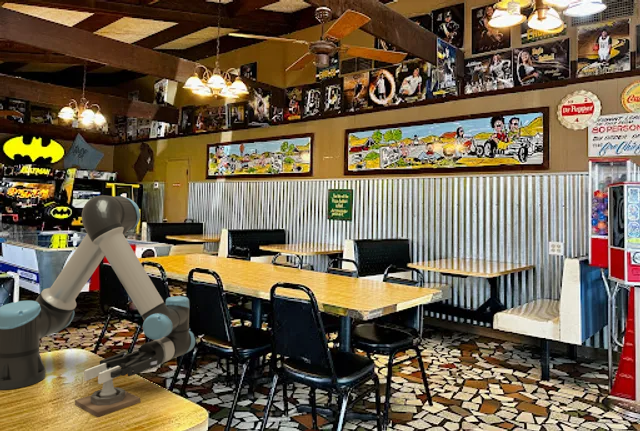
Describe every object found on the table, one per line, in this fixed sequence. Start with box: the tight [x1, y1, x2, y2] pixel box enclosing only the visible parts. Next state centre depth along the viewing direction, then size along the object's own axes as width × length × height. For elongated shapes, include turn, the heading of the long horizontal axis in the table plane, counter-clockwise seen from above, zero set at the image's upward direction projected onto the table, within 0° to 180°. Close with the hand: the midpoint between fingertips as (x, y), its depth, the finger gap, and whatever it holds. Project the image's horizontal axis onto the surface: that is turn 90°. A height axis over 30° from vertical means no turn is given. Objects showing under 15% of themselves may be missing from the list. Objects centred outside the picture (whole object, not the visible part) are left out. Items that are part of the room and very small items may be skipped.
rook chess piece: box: [99, 368, 116, 398], centre depth 125 cm, size 4×4×8 cm
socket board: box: [74, 387, 141, 418], centre depth 125 cm, size 12×12×3 cm
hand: (92, 377), depth 120 cm, fingers open, 4 cm apart
